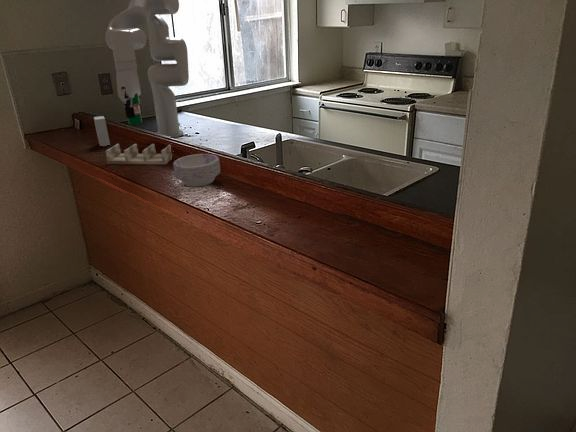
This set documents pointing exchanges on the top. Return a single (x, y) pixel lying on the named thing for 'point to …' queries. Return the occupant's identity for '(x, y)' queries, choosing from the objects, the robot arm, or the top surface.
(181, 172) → the paper bowls
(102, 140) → the skincare box
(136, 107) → the soda can
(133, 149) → the can rack
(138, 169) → the top surface
